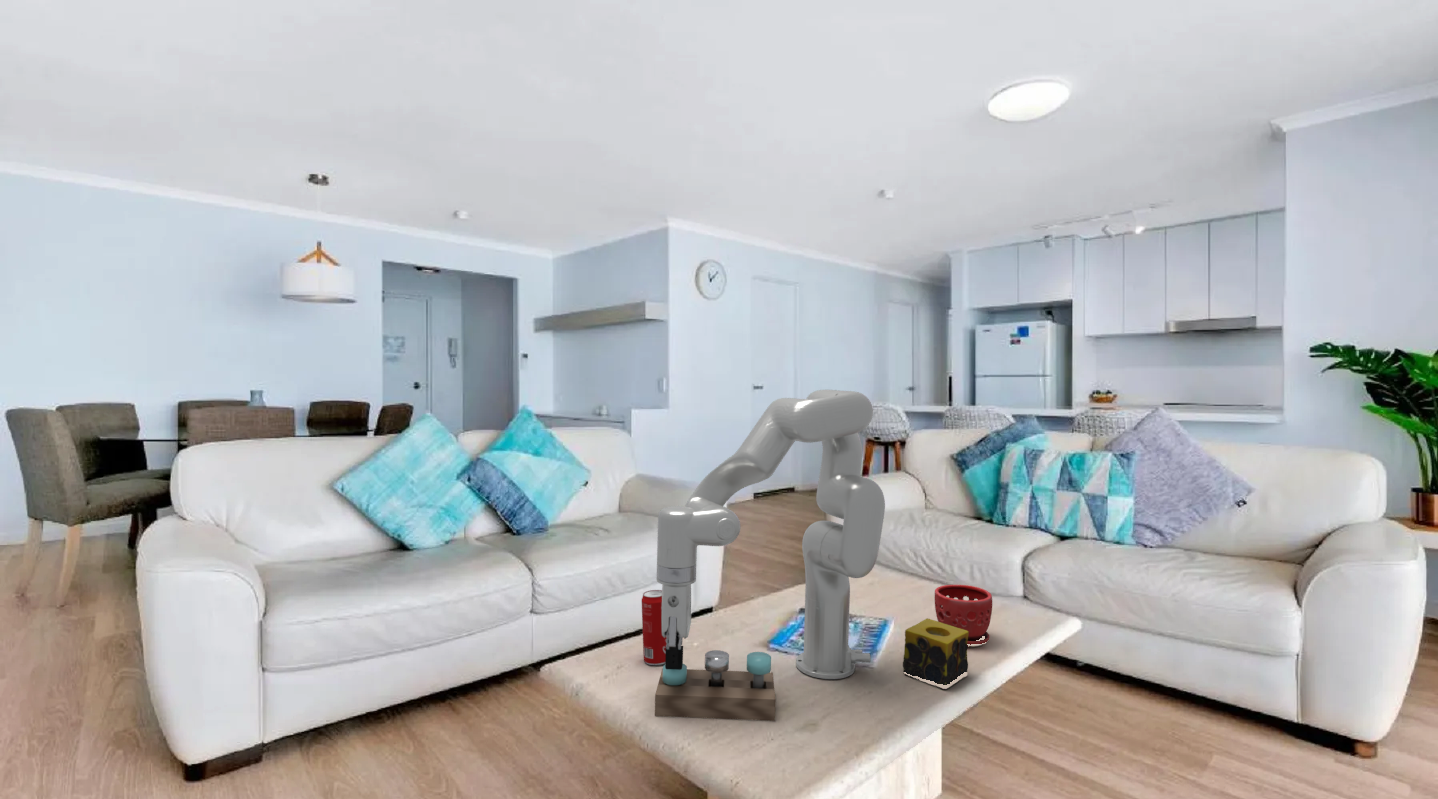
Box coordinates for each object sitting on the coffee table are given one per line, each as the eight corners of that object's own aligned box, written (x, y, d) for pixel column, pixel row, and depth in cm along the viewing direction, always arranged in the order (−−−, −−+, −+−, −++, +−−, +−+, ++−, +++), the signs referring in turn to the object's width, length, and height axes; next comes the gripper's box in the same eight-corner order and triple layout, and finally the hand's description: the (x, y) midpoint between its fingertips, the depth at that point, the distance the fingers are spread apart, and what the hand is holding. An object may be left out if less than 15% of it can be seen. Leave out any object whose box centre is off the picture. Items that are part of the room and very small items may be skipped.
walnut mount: (772, 692, 133) (772, 672, 133) (774, 721, 122) (775, 699, 122) (661, 687, 134) (662, 668, 134) (654, 716, 123) (655, 694, 123)
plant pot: (965, 627, 170) (967, 581, 170) (1002, 648, 158) (1005, 598, 157) (922, 632, 166) (923, 585, 166) (956, 654, 154) (958, 602, 153)
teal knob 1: (687, 694, 130) (687, 662, 130) (685, 706, 126) (685, 673, 126) (663, 694, 131) (664, 661, 130) (660, 705, 126) (661, 672, 126)
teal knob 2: (769, 684, 130) (770, 652, 130) (770, 696, 125) (771, 662, 125) (746, 683, 130) (746, 651, 130) (746, 695, 125) (747, 661, 125)
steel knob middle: (728, 683, 130) (729, 650, 130) (728, 694, 126) (728, 660, 125) (704, 682, 130) (705, 649, 130) (703, 693, 126) (704, 659, 125)
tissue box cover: (925, 661, 150) (926, 617, 149) (968, 676, 142) (970, 630, 142) (901, 675, 142) (902, 628, 142) (946, 692, 135) (947, 643, 135)
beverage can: (665, 668, 143) (667, 598, 142) (636, 664, 144) (637, 595, 144) (673, 656, 149) (674, 589, 148) (645, 653, 150) (646, 587, 149)
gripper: (693, 585, 120) (690, 686, 120) (698, 562, 135) (696, 652, 135) (651, 584, 120) (648, 684, 121) (661, 560, 135) (659, 650, 136)
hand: (673, 667), depth 128 cm, fingers closed
